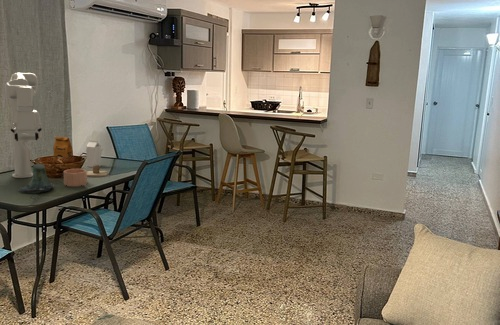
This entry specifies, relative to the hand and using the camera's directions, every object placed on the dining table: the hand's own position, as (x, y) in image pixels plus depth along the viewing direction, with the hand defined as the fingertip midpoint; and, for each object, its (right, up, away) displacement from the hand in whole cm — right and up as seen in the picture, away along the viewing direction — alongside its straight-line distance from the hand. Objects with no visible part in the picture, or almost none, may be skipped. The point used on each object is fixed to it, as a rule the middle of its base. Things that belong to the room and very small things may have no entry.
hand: (26, 140), depth 243 cm
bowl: (+16, -25, +27) cm, 41 cm away
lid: (+21, -20, +51) cm, 59 cm away
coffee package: (-8, -16, +68) cm, 70 cm away
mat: (+21, -21, +51) cm, 59 cm away
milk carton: (+10, -15, +76) cm, 79 cm away
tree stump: (+1, -28, +11) cm, 30 cm away
